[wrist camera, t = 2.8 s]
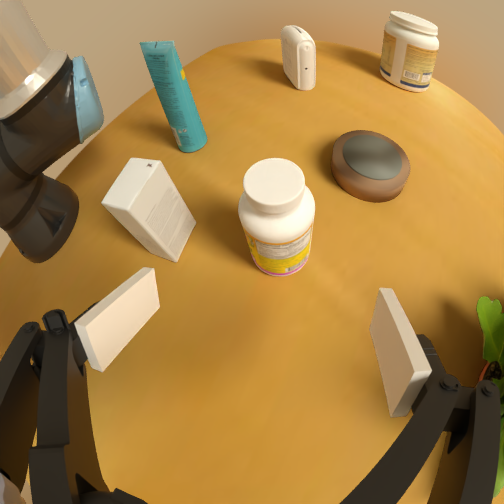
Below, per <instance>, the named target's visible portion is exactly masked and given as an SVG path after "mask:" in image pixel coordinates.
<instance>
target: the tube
mask: <svg viewBox="0 0 504 504" xmlns="http://www.w3.org/2000/svg"><path fill="white" fill-rule="evenodd" d="M140 45H141V49H142V52H143V55H144V58H145V61H146V64H147V67H148V69H149V72H150V75H151V78H152V80H153V83H154V86H155V89H156V91H157V94H158V96H159V99H160V101H161V104H162V107H163V109H164V112H165V114H166V117H167V119H168V122H169V124H170V127H171V130H172V132H173V135H174V137H175V139H176V142H177V144H178V147H179V149H180V150H181V151H183V152H194V151H197V150H199V149H201V148H202V147H203V146H204V145H205V144H206V142H207V136H206V133H205V130H204V128H203V125H202V122H201V119H200V116H199V114H198V111H197V108H196V105H195V102H194V100H193V97H192V94H191V91H190V88H189V85H188V82H187V79H186V77H185V74H184V71H183V68H182V65H181V63H180V60H179V57H178V55H177V52H176V49H175V46H174V41H161V42H160V41H158V42H140Z"/></svg>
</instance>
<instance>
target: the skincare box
mask: <svg viewBox="0 0 504 504" xmlns="http://www.w3.org/2000/svg"><path fill="white" fill-rule="evenodd" d="M101 203H102V205H103V206H104V207H105V208H106V209H107V210H108V211H109V212H110V213H111V214H112V215H113V216H114V217H115V218H116V219H117V220H118V221H119V222H120V223H121V224H122V225H123V226H124V227H125V228H126V229H127V230H128V231H129V232H130V233H131V234H132V235H133V236H134V237H135V238H136V239H137V240H138V241H139V242H140V243H141V244H142V245H143V246H144V247H145V248H146V249H147V250H148V251H149V252H150V253H152V254H154V255H157V256H160V257H162V258H165V259H168V260H170V261H173V262H177V261H178V259H179V257H180V255H181V252H182V250H183V248H184V246H185V244H186V242H187V240H188V238H189V236H190V234H191V232H192V230H193V228H194V226H195V224H196V221H195V219H194V218H193V216H192V214H191V213H190V211H189V209H188V208H187V206H186V204H185V202H184V201H183V199H182V197H181V195H180V194H179V192H178V190H177V189H176V187H175V185H174V183H173V182H172V180H171V178H170V176H169V175H168V173H167V171H166V169H165V168H164V166H163V164H162V162H161V161H159V160H149V159H140V158H130V160H129V161H128V163H127V164H126V166H125V167H124V169H123V170H122V172H121V173H120V175H119V176H118V177H117V179H116V180H115V182H114V183H113V185H112V186H111V188H110V190H109V191H108V193H107V194H106V196H105V197H104V199H103V201H102V202H101Z"/></svg>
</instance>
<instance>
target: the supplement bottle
mask: <svg viewBox="0 0 504 504" xmlns="http://www.w3.org/2000/svg"><path fill="white" fill-rule="evenodd" d="M243 187H244V192H243V193H242V195H241V197H240V200H239V205H238V213H239V217H240V221H241V224H242V227H243V230H244V233H245V236H246V240H247V243H248V246H249V249H250V252H251V255H252V258H253V260H254V262H255V264H256V265H257V266H258V267H259V269H261V270H262V271H263V272H265V273H267V274H269V275H272V276H288V275H291V274H293V273H295V272H297V271H298V270H300V269H301V268H302V267H303V266H304V264H305V263H306V261H307V259H308V256H309V252H310V245H311V237H312V229H313V221H314V214H315V202H314V198H313V196H312V193H311V192H310V190H309V189H308V187H307V186H306V185H305V179H304V175H303V172H302V170H301V169H300V168H299V167H298V166H297V165H296V164H294V163H293V162H291V161H289V160H286V159H281V158H270V159H265V160H262V161H259V162H257V163H255V164H254V165H252V166H251V167H250V168H249V169H248V171H247V172H246V174H245V176H244V179H243Z"/></svg>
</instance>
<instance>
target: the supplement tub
mask: <svg viewBox="0 0 504 504" xmlns="http://www.w3.org/2000/svg"><path fill="white" fill-rule="evenodd" d="M389 18H390V19H391V21H389V22H387V23H386V25H385V30H384V39H383V48H382V55H381V62H380V72H381V74H382V76H383V77H384V78H385V79H386V80H387V81H389V82H390V83H392V84H394V85H396V86H398V87H400V88H402V89H405V90H408V91H413V92H423V91H426V90H427V89H428V87H429V84H430V80H431V76H432V73H433V69H434V65H435V61H436V57H437V52H438V48H439V41H438V39H437V38H436V37H435V36H436V35H437V34H438V33H437V31H438V27H437V26H435V25H434V24H432V23H431V22H429V21H427V20H424V19H422V18H420V17H417V16H414V15H411V14H408V13H403V12H399V11H391V14H390V17H389Z"/></svg>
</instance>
